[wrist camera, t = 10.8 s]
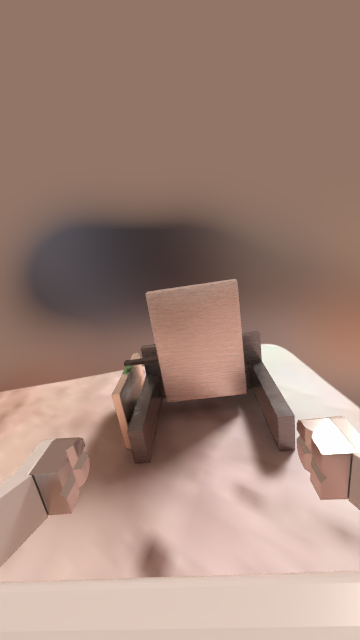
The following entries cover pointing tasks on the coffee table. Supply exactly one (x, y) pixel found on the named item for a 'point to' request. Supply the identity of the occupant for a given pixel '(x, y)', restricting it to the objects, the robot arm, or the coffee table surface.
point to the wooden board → (197, 340)
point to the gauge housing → (146, 394)
